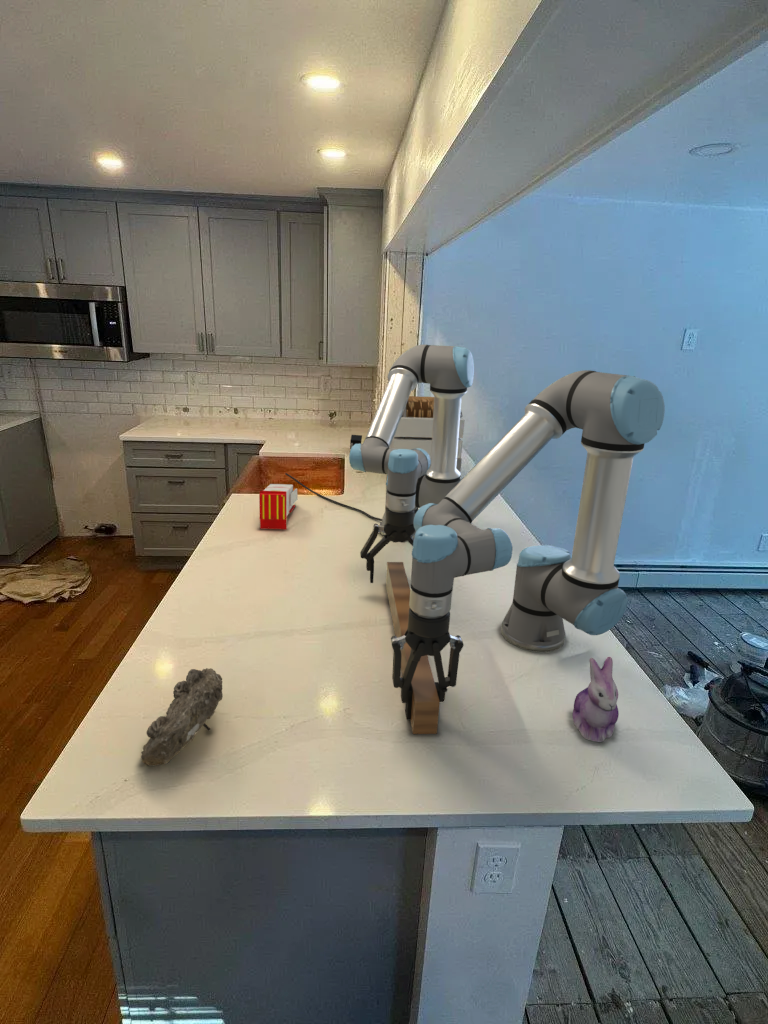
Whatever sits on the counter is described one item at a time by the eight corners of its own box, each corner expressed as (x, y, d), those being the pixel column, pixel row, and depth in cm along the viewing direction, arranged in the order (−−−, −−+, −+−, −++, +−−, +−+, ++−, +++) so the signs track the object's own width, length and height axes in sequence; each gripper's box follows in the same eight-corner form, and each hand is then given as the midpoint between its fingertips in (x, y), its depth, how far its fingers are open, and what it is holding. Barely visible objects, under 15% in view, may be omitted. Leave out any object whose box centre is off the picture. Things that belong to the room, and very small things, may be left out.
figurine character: (361, 456, 307) (362, 446, 320) (362, 442, 303) (362, 433, 317) (349, 455, 306) (350, 446, 320) (349, 442, 303) (350, 433, 316)
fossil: (171, 669, 114) (224, 637, 109) (205, 700, 117) (257, 670, 112) (115, 759, 95) (175, 724, 90) (157, 793, 97) (218, 762, 92)
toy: (299, 479, 223) (289, 492, 194) (299, 512, 226) (289, 530, 197) (268, 478, 223) (253, 491, 193) (268, 512, 225) (254, 529, 196)
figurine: (597, 751, 104) (612, 683, 98) (557, 717, 112) (569, 652, 107) (633, 736, 108) (649, 669, 103) (592, 704, 116) (605, 641, 111)
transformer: (382, 463, 289) (386, 382, 275) (445, 464, 293) (451, 384, 279) (390, 482, 257) (394, 392, 243) (460, 483, 261) (468, 394, 247)
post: (385, 585, 163) (387, 561, 160) (401, 585, 163) (403, 562, 161) (412, 734, 106) (415, 702, 104) (436, 733, 106) (439, 701, 104)
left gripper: (353, 512, 145) (351, 587, 152) (449, 514, 147) (442, 587, 154) (352, 503, 152) (350, 574, 159) (444, 504, 154) (438, 575, 161)
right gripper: (382, 620, 98) (377, 728, 106) (482, 619, 100) (469, 726, 108) (379, 599, 105) (375, 702, 113) (472, 599, 107) (461, 701, 115)
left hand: (396, 581), depth 157 cm, fingers open, 13 cm apart
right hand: (421, 714), depth 111 cm, fingers closed on post, 5 cm apart
